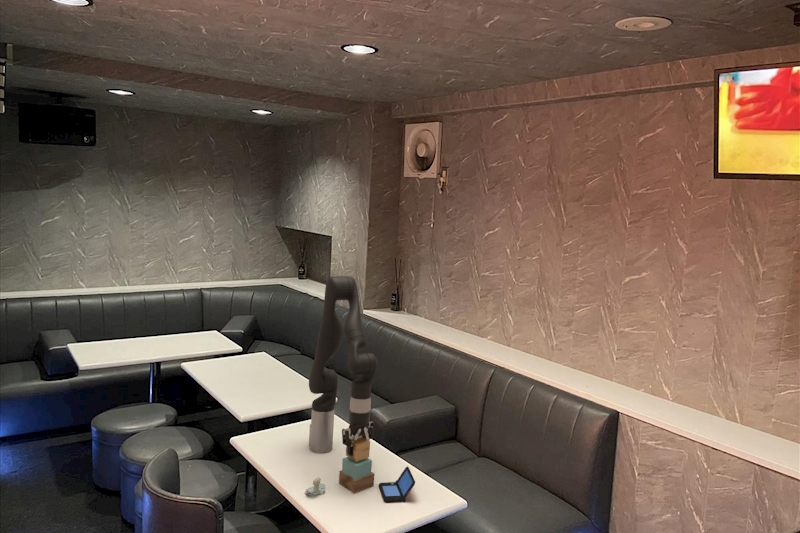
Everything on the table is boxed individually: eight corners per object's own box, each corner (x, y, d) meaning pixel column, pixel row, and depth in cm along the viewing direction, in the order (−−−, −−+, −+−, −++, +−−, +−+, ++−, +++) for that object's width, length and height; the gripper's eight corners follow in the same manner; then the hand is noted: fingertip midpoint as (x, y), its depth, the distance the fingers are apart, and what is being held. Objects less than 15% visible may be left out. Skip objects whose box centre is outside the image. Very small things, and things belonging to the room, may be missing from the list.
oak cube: (345, 455, 203) (346, 439, 202) (358, 451, 207) (359, 435, 206) (356, 461, 199) (357, 445, 198) (369, 457, 203) (370, 441, 202)
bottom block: (338, 484, 204) (339, 471, 204) (357, 476, 210) (358, 464, 210) (354, 494, 198) (355, 480, 197) (373, 486, 204) (374, 473, 203)
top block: (341, 471, 203) (342, 458, 203) (357, 465, 209) (358, 452, 208) (355, 479, 198) (356, 466, 198) (371, 473, 203) (371, 460, 203)
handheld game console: (377, 485, 205) (379, 466, 204) (406, 484, 207) (407, 465, 206) (383, 504, 193) (385, 483, 192) (414, 502, 195) (415, 482, 194)
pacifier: (300, 493, 196) (311, 499, 192) (301, 476, 196) (312, 482, 192) (316, 486, 202) (327, 492, 198) (317, 469, 201) (328, 475, 197)
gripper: (368, 401, 209) (366, 444, 210) (337, 409, 199) (335, 454, 201) (382, 407, 203) (379, 451, 205) (350, 416, 193) (348, 462, 195)
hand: (357, 452), depth 203 cm, fingers closed on oak cube, 6 cm apart
